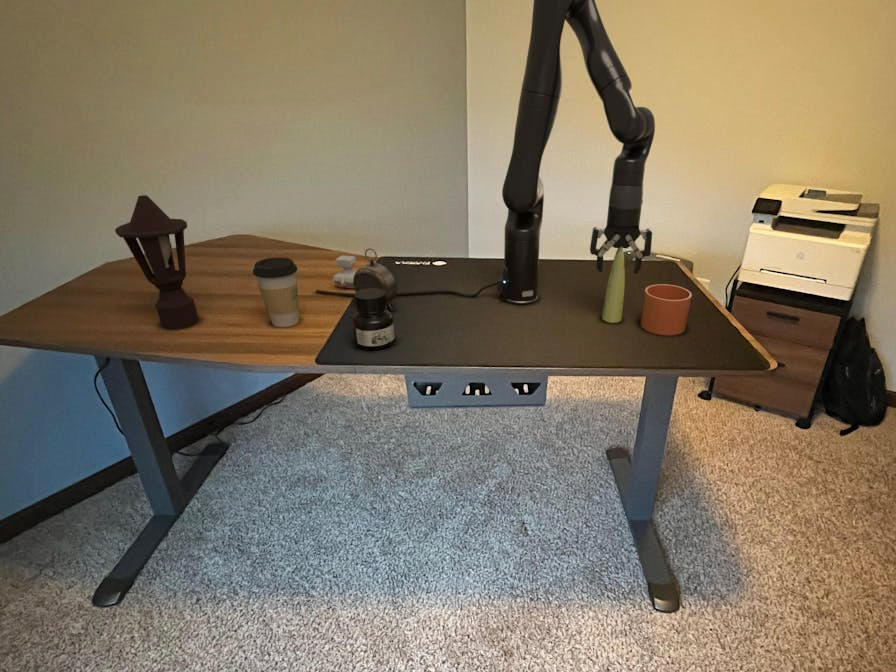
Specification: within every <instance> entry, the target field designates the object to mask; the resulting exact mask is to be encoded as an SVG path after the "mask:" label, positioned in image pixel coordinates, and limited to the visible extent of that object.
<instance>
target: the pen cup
mask: <svg viewBox="0 0 896 672" xmlns="http://www.w3.org/2000/svg"><path fill="white" fill-rule="evenodd" d="M643 295H644V296H643V299H642V300H643V302H642V308H641V315H640V323H639V324H640V327H641V328H642V329H643V330H645V331H646V332H649V333H650V334H655V335H659V336H677V335H680V334H682V333H684V332H685V331H686V328H687V323H688V319H689V312H690V307H691V302H692V296H693V294H692V292H691V291H690V290H689V289H687V288H685V287H682V286H678V285H674V284H667V283H665V284H664V283H660V284H659V283H658V284H652V285H649V286H647V287H645V289H644V294H643Z"/></svg>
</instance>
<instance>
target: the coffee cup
mask: <svg viewBox="0 0 896 672" xmlns="http://www.w3.org/2000/svg"><path fill="white" fill-rule="evenodd" d="M297 272H298V267H297V265H296V264H295V262H294V260H293V259H292V258H288V257H277V256H276V257H268V258H264V259H260V260H258V261H256V262H255V263H254V267H253V269H252V275H253V276H254V277H255V278H256V281H257V287H258V290H259V292H260V294H261V295H260V296H261V298H262V300H263V303H264V305H265V309H266V311H267V313H268V315H269V319H270V321H271V324H272V325H273V326H274V327H276V328H289V327H291V326H292V327H293V326H295V325H297V324H298V323H299V322H300V318H299V291H298V279H297Z"/></svg>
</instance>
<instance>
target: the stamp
mask: <svg viewBox="0 0 896 672" xmlns="http://www.w3.org/2000/svg"><path fill="white" fill-rule="evenodd" d="M335 262H336V265H337V266H338V267H339V268H342V270H341V271H339V272H338V273H336V274H335V275H334V276H333V277H332V281H333V282H334V283H335V284H336V285H337V286H338V287H339V288H346V289H354V285H353V278H354V275H355V273H356V271H357V270H358V269H357V270H355V269H354V268H353V266H355V265H356V264H357V258H356V256H353V255H343V254H342V255H340V256H339V257H337V258H336V259H335Z"/></svg>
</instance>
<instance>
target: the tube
mask: <svg viewBox="0 0 896 672" xmlns="http://www.w3.org/2000/svg"><path fill="white" fill-rule="evenodd" d="M624 253H625V252H624V248H622V246H621V247H620V248H616V252H615V254H614V258H613V261H612V265H611V268H610V272H609V276H608V281H607V285H606V291H605V296H604V302H603V309H602V316H601V319H602V320H603V321H604V322H606V323H610V324H618V323H619V322H620V323H621V321H622V319H623V311H624V299H625V288H626V287H625V285H626V272H625V271H626V269H625V268H626V267H625V254H624Z"/></svg>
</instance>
